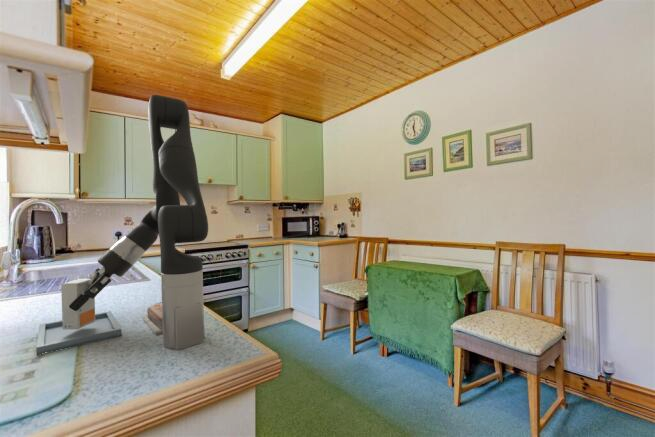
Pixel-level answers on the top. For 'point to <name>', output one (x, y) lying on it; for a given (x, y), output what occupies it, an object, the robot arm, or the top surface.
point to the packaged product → (154, 318)
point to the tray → (76, 333)
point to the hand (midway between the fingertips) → (71, 305)
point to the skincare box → (84, 314)
